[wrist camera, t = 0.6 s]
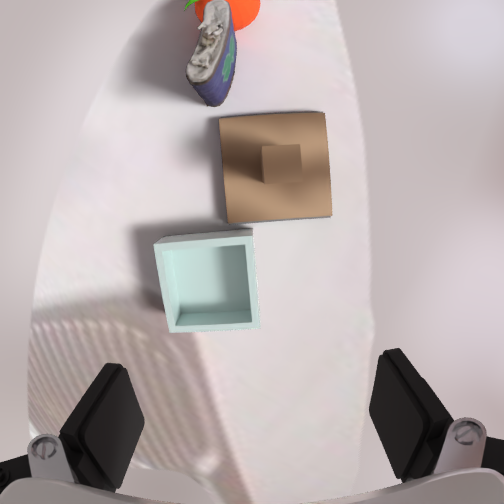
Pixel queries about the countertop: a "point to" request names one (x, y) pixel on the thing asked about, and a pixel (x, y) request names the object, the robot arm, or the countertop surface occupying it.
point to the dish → (209, 281)
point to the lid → (275, 166)
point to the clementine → (233, 11)
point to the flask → (214, 54)
